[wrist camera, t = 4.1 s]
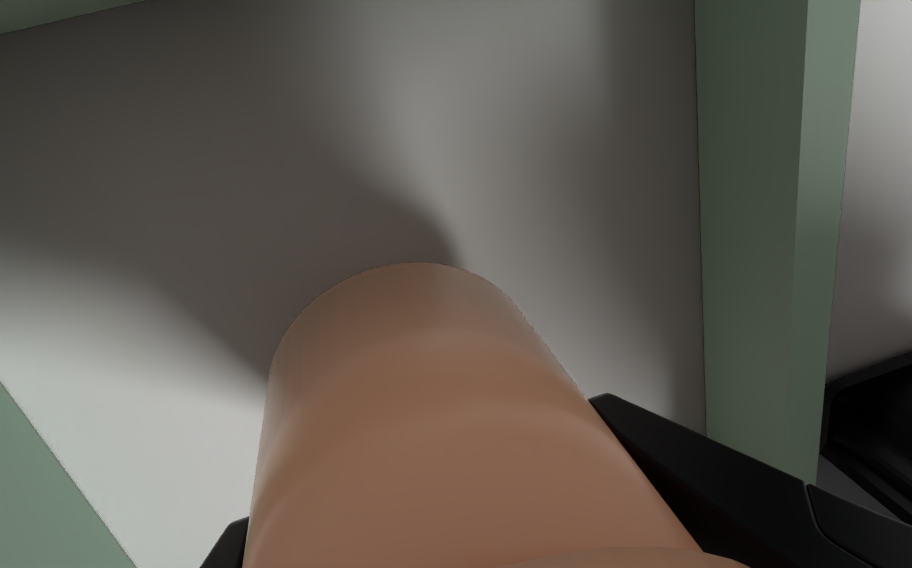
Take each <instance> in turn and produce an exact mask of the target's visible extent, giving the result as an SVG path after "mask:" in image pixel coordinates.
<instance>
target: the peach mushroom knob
mask: <svg viewBox="0 0 912 568" xmlns="http://www.w3.org/2000/svg"><path fill="white" fill-rule="evenodd" d="M242 568H750V567H748V566H746V565H744V564H741V563H739V562H737V561H735V560H732V559H728V558H724V557H720V556H716V555H712V554H708V553H704V552H703V551H702V550H701V548H700V547H699V546H698V544H697V543H696V542H695V540H694V539H693V538H692V536H691V535H690V534H689V533H688V531H687V530H686V529H685V527H684V526H683V525H682V523H681V522H680V521H679V519H678V518H677V517H676V515H675V514H674V513H673V511H672V510H671V509H670V508H669V506H668V505H667V504H666V502H665V501H664V500H663V498H662V497H661V496H660V494H659V493H658V492H657V490H656V489H655V488H654V486H653V485H652V484H651V482H650V481H649V480H648V479H647V477H646V476H645V475H644V473H643V472H642V471H641V469H640V468H639V467H638V465H637V464H636V463H635V461H634V460H633V459H632V457H631V456H630V455H629V454H628V452H627V451H626V450H625V448H624V447H623V446H622V444H621V443H620V442H619V440H618V439H617V438H616V436H615V435H614V434H613V432H612V431H611V430H610V429H609V427H608V426H607V425H606V423H605V422H604V421H603V419H602V418H601V417H600V415H599V414H598V413H597V411H596V410H595V409H594V407H593V406H592V405H591V404H590V402H589V401H588V400H587V398H586V397H585V396H584V394H583V393H582V392H581V390H580V389H579V388H578V386H577V385H576V384H575V382H574V381H573V380H572V379H571V377H570V376H569V375H568V373H567V372H566V371H565V369H564V368H563V367H562V365H561V364H560V363H559V361H558V360H557V359H556V357H555V356H554V355H553V353H552V352H551V351H550V350H549V348H548V347H547V346H546V344H545V343H544V342H543V340H542V339H541V338H540V336H539V335H538V334H537V332H536V331H535V330H534V328H533V327H532V326H531V325H530V323H529V322H528V321H527V319H526V318H525V317H524V315H523V314H522V313H521V311H520V310H519V309H518V307H517V306H516V305H515V304H514V303H513V302H512V301H511V299H510V298H509V297H508V296H507V295H506V294H505V293H503V292H502V291H501V290H500V289H499V288H497V287H496V286H495V285H493V284H492V283H490V282H488V281H487V280H485V279H484V278H482V277H480V276H478V275H476V274H473V273H471V272H469V271H466V270H464V269H460V268H456V267H453V266H449V265H444V264H437V263H429V262H407V263H398V264H390V265H385V266H381V267H377V268H373V269H369V270H367V271H364V272H361V273H359V274H356V275H353V276H351V277H349V278H347V279H345V280H343V281H341V282H339V283H337V284H335V285H334V286H332V287H331V288H329V289H328V290H326V291H325V292H323V293H322V294H321V295H319V296H318V297H317V298H316V299H314V300H313V301H312V302H311V303H310V304H309V305H308V306H307V307H305V308H304V309H303V311H302V312H301V313H300V314H299V315H298V316H297V317H296V319H295V320H294V321H293V322H292V323H291V325H290V326H289V328H288V330H287V331H286V333H285V334H284V336H283V337H282V339H281V341H280V343H279V346H278V348H277V350H276V352H275V355H274V358H273V362H272V365H271V368H270V374H269V381H268V388H267V395H266V402H265V410H264V417H263V424H262V431H261V438H260V445H259V452H258V459H257V466H256V474H255V481H254V488H253V495H252V502H251V509H250V516H249V523H248V530H247V537H246V545H245V552H244V559H243V566H242Z"/></svg>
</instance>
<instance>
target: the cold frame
mask: <svg viewBox="0 0 912 568" xmlns="http://www.w3.org/2000/svg"><path fill="white" fill-rule="evenodd" d="M139 1H144V0H0V34H3V33H7V32H12V31H16V30H20V29H24V28H29V27H33V26H37V25H42V24H46V23H50V22H54V21H59V20H63V19H67V18H71V17H76V16H80V15H84V14H88V13H93V12H97V11H101V10H105V9H110V8H114V7H118V6H122V5H127V4H131V3H135V2H139ZM859 11H860V0H695V37H696V73H697V109H698V145H699V181H700V218H701V254H702V290H703V326H704V363H705V399H706V435H707V437H708V438H710V439H712V440H715V441H717V442H719V443H721V444H724V445H726V446H728V447H730V448H732V449H735V450H737V451H739V452H741V453H744V454H746V455H748V456H750V457H752V458H755V459H757V460H759V461H761V462H764V463H766V464H768V465H770V466H772V467H775V468H777V469H779V470H781V471H784V472H786V473H788V474H790V475H792V476H795V477H797V478H799V479H801V480H803V481H805V483H806V485H807V484H813V485H815V486H816V476H817V465H818V454H819V444H820V433H821V422H822V411H823V400H824V389H825V379H826V368H827V357H828V346H829V335H830V325H831V314H832V303H833V292H834V281H835V270H836V260H837V249H838V238H839V227H840V216H841V206H842V195H843V184H844V173H845V162H846V151H847V141H848V130H849V119H850V108H851V97H852V87H853V76H854V65H855V54H856V43H857V32H858V22H859ZM0 568H136V567H135V566H134V564H133V563H132V561H131V560H130V559H129V557H128V556H127V555H126V553H125V552H124V551H123V549H122V548H121V546H120V545H119V544H118V542H117V541H116V540H115V538H114V537H113V536H112V534H111V533H110V531H109V530H108V529H107V527H106V526H105V525H104V523H103V522H102V520H101V519H100V518H99V516H98V515H97V514H96V512H95V511H94V510H93V508H92V507H91V505H90V504H89V503H88V501H87V500H86V499H85V497H84V496H83V495H82V493H81V492H80V490H79V489H78V488H77V486H76V485H75V484H74V482H73V481H72V479H71V478H70V477H69V475H68V474H67V473H66V471H65V470H64V469H63V467H62V466H61V464H60V463H59V462H58V460H57V459H56V458H55V456H54V455H53V454H52V452H51V451H50V449H49V448H48V447H47V445H46V444H45V443H44V441H43V440H42V439H41V437H40V436H39V434H38V433H37V432H36V430H35V429H34V428H33V426H32V425H31V423H30V422H29V421H28V419H27V418H26V417H25V415H24V414H23V413H22V411H21V410H20V408H19V407H18V406H17V404H16V403H15V402H14V400H13V399H12V398H11V396H10V395H9V393H8V392H7V391H6V389H5V388H4V387H3V385H2V384H1V382H0Z"/></svg>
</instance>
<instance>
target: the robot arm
mask: <svg viewBox="0 0 912 568" xmlns="http://www.w3.org/2000/svg"><path fill="white" fill-rule="evenodd" d="M588 401H589V402H590V404H591V405H592V406H593V407H594V409H595V410H596V411H597V413H598V414H599V415H600V417H601V418H602V419H603V421H604V422H605V423H606V425H607V426H608V427H609V429H610V430H611V431H612V432H613V434H614V435H615V436H616V438H617V439H618V440H619V442H620V443H621V444H622V446H623V447H624V448H625V450H626V451H627V452H628V454H629V455H630V456H631V457H632V459H633V460H634V461H635V463H636V464H637V465H638V467H639V468H640V469H641V471H642V472H643V473H644V475H645V476H646V477H647V479H648V480H649V481H650V482H651V484H652V485H653V486H654V488H655V489H656V490H657V492H658V493H659V494H660V496H661V497H662V498H663V500H664V501H665V502H666V504H667V505H668V506H669V508H670V509H671V510H672V511H673V513H674V514H675V515H676V517H677V518H678V519H679V521H680V522H681V523H682V525H683V526H684V527H685V529H686V530H687V531H688V533H689V534H690V535H691V536H692V538H693V539H694V540H695V542H696V543H697V544H698V546H699V547H700V548H701V550H702V551H703V552H704V553H708V554H712V555H716V556H720V557H724V558H728V559H732V560H735V561H737V562H739V563H741V564H744V565H746V566H748V567H750V568H912V352H911V353H909V354H906V355H903V356H900V357H897V358H895V359H892V360H889V361H886V362H884V363H881V364H878V365H875V366H873V367H870V368H867V369H864V370H861V371H859V372H856V373H853V374H850V375H848V376H845V377H842V378H839V379H836V380H834V381H832V382H830V383H829V384H828V385H827V386H826V387H825V389H824V400H823V411H822V422H821V433H820V444H819V454H818V465H817V476H816V486H815V485H813V484H807V485H806V483H805V481H803V480H801V479H799V478H797V477H795V476H792V475H790V474H788V473H786V472H784V471H781V470H779V469H777V468H775V467H772V466H770V465H768V464H766V463H764V462H761V461H759V460H757V459H755V458H752V457H750V456H748V455H746V454H744V453H741V452H739V451H737V450H735V449H732V448H730V447H728V446H726V445H724V444H721V443H719V442H717V441H715V440H712V439H710V438H708V437H706V436H704V435H701V434H699V433H697V432H695V431H693V430H690V429H688V428H686V427H684V426H681V425H679V424H677V423H675V422H673V421H670V420H668V419H666V418H664V417H661V416H659V415H657V414H655V413H653V412H650V411H648V410H646V409H644V408H641V407H639V406H637V405H635V404H633V403H630V402H628V401H626V400H624V399H621V398H619V397H617V396H615V395H613V394H610V393H604V394H601V395H598V396H595V397H593V398H590V399H588ZM248 523H249V516H248V517H246V518H243V519H240V520H237V521H234V522H232V523H231V524H229V525H228V527H227V528H226V529H225V531H224V532H223V534H222V535H221V537H220V538H219V540H218V541H217V543H216V544H215V546H214V547H213V549H212V550H211V552H210V553H209V555H208V556H207V557H206V559H205V560H204V562H203V563H202V565H201V566H200V568H242V566H243V559H244V552H245V545H246V537H247V530H248Z"/></svg>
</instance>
